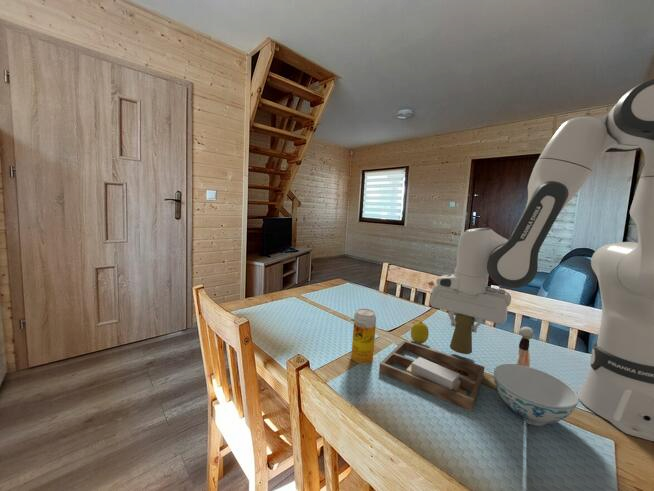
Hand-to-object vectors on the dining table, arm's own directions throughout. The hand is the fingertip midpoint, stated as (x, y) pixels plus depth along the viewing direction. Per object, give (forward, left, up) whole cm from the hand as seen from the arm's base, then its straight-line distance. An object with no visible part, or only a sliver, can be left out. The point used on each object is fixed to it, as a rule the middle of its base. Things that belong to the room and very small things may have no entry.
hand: (463, 328), depth 84 cm
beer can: (+22, +21, -10) cm, 32 cm away
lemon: (+13, -1, -10) cm, 16 cm away
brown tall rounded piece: (0, 0, -7) cm, 7 cm away
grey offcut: (+2, +21, -6) cm, 22 cm away
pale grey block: (+3, +20, -8) cm, 22 cm away
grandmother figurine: (-15, -7, -10) cm, 19 cm away
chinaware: (-17, +15, -10) cm, 25 cm away
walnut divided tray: (+4, +16, -10) cm, 19 cm away
